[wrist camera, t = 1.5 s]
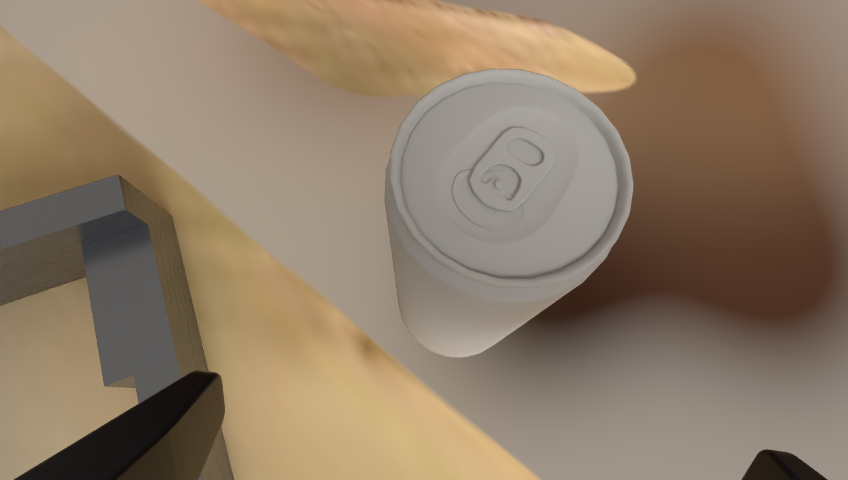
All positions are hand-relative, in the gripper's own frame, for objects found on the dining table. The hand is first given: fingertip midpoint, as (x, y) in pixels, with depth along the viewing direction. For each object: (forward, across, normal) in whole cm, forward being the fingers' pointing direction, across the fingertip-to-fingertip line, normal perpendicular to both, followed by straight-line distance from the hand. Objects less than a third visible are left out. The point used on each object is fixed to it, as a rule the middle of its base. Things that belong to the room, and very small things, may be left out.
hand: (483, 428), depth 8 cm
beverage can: (+11, 0, +5) cm, 12 cm away
